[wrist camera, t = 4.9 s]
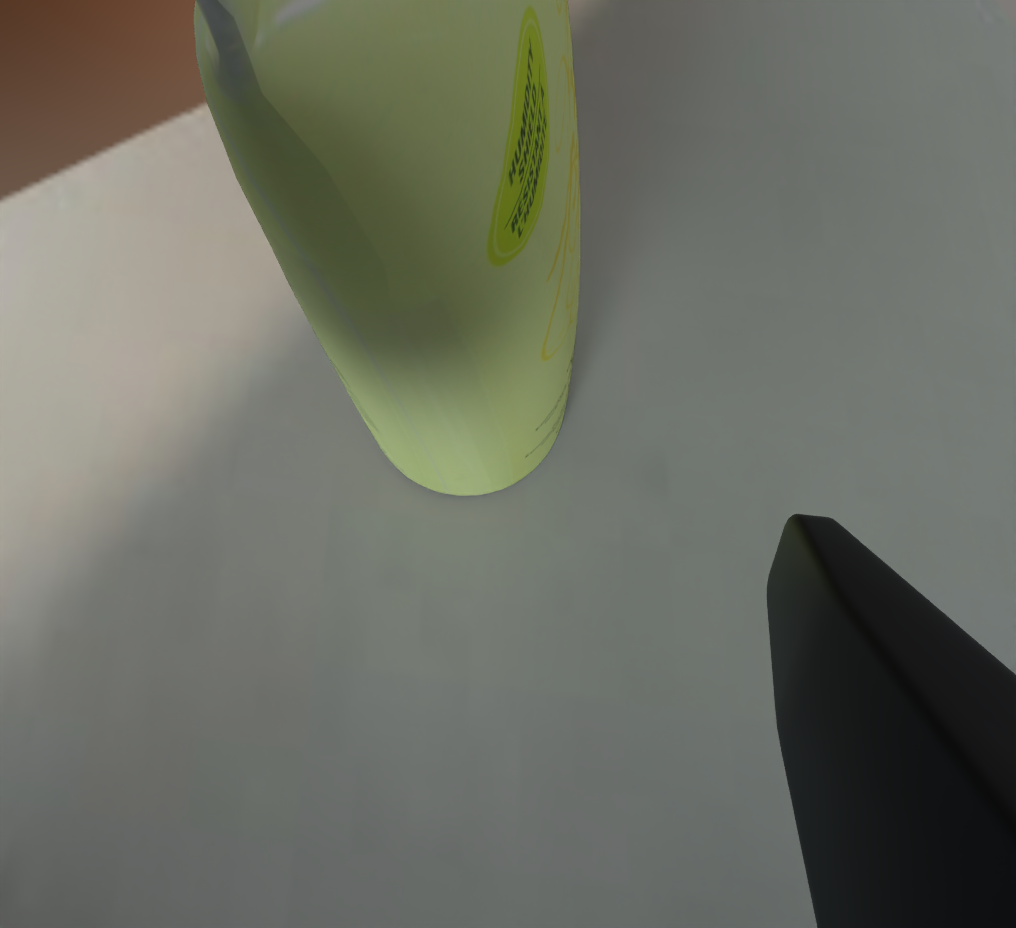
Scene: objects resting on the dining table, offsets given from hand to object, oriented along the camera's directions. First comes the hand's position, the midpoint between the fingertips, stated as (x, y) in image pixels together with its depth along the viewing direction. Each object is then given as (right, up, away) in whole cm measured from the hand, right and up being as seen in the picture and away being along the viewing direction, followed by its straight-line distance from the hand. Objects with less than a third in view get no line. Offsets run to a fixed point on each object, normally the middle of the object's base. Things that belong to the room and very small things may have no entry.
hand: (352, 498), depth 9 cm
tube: (+1, +2, +13) cm, 14 cm away
